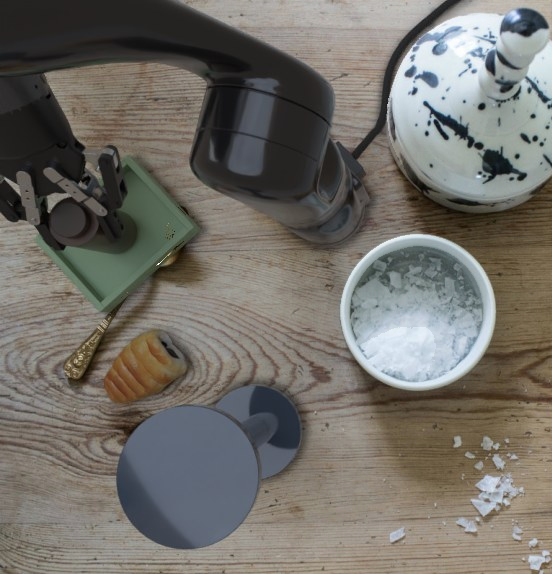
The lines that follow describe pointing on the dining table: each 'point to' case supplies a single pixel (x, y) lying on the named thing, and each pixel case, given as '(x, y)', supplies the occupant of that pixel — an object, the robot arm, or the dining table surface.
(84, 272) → the tray
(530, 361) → the dining table surface
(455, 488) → the dining table surface
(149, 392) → the pastry
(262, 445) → the stand
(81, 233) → the pepper mill
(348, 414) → the dining table surface
